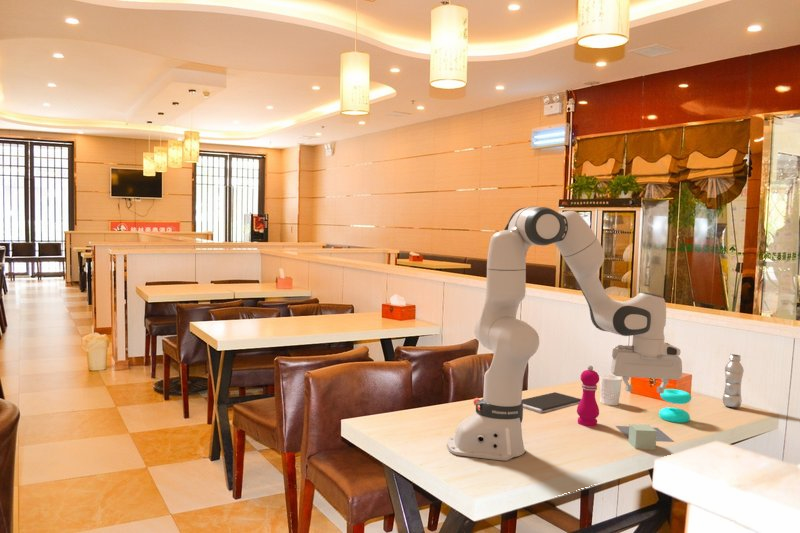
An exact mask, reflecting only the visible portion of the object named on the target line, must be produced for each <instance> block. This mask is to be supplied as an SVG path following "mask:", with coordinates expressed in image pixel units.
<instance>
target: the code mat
mask: <svg viewBox="0 0 800 533" xmlns="http://www.w3.org/2000/svg"><path fill="white" fill-rule="evenodd" d="M615 427H616V429H618V430H619V431H620V432H621V433H622V434H623V435H624V436H625V437H626V438H627V439H628V440H629V426H625V425H615ZM651 427H652V428H654V429H655V430H656V431H657V434H656V442H664V443H665V442H666V443H669V442H670V443H675V441H674V440H673V439H672V438H671V437H669V436H668V435H667V434H666V433H665V432H663V431H662V430H661V429H660V428H659V427H653V426H651Z"/></svg>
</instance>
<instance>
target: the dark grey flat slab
mask: <svg viewBox="0 0 800 533" xmlns="http://www.w3.org/2000/svg"><path fill="white" fill-rule="evenodd" d="M581 399H582V398H579V397H575V396H572V395H569V394H568V395H567V394H564V393H559V392H557V391H556V392H550V393H547V394H546V393H545V394H541V395H537V396H533V397H526V398H524V399H523V398H522V403H523V410H528V411H532V412H535V413H538V414H544V413H548V412H551V411H555V410H559V409H563V408H567V407H571V406H575V405H577V403H578V404H579V402H580V401H581ZM574 404H575V405H574ZM570 405H571V406H570ZM566 406H567V407H566Z"/></svg>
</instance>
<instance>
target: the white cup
mask: <svg viewBox="0 0 800 533" xmlns="http://www.w3.org/2000/svg"><path fill="white" fill-rule="evenodd" d="M622 382H623V379H622V376H615V375H614V374H602V375H599V402H600V403H601V405H605V404H606V406H618V405H619V404H620V398H621V389H622Z"/></svg>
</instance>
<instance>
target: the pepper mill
mask: <svg viewBox="0 0 800 533" xmlns="http://www.w3.org/2000/svg"><path fill="white" fill-rule="evenodd" d="M580 381H581V382H582V383H581V389H582V396H581V398H580V399H581V401H580V402H579V403H578V405H577V408H576V413H577V415H578V417H577V424H578V425H580V426H583V427H588V428H589V427H590V428H591V427H593V428H594V427H597V426H598V419H597V418H598V417H599V415H600V408H599V405H598V403H597V401H596V391H597V390H598V385H597V384H598V383H600V375H599V373H598V372H597V371H596V370H594V366H592V365H587V369H586V370H583V371H582V372H581V374H580Z"/></svg>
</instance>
